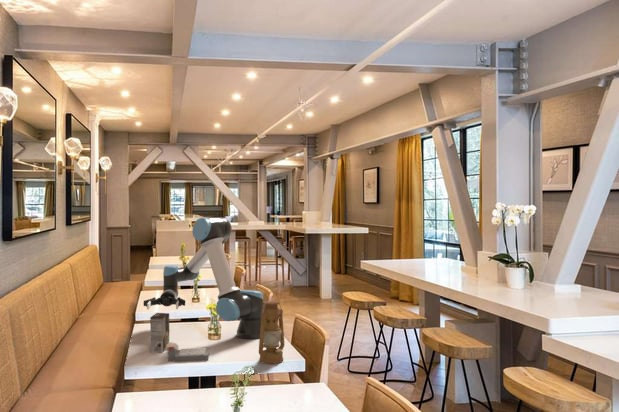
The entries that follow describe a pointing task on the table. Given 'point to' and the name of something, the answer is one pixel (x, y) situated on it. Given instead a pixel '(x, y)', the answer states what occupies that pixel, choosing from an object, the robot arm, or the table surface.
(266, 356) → the lantern
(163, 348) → the coffee box
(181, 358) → the scale
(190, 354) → the scale plate
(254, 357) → the table surface
